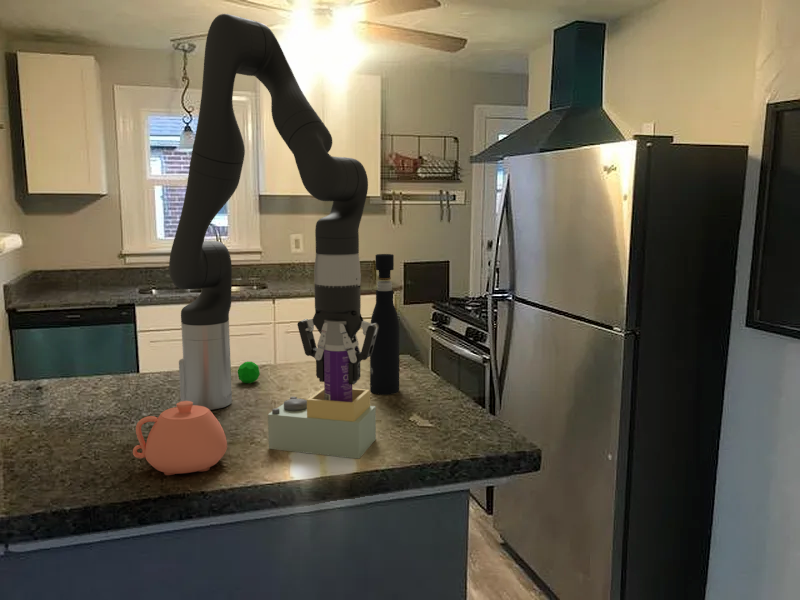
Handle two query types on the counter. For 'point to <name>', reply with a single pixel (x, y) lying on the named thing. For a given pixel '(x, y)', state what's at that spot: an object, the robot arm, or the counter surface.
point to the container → (336, 365)
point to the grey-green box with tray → (324, 425)
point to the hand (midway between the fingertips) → (338, 381)
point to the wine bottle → (385, 333)
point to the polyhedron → (248, 372)
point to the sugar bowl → (182, 439)
